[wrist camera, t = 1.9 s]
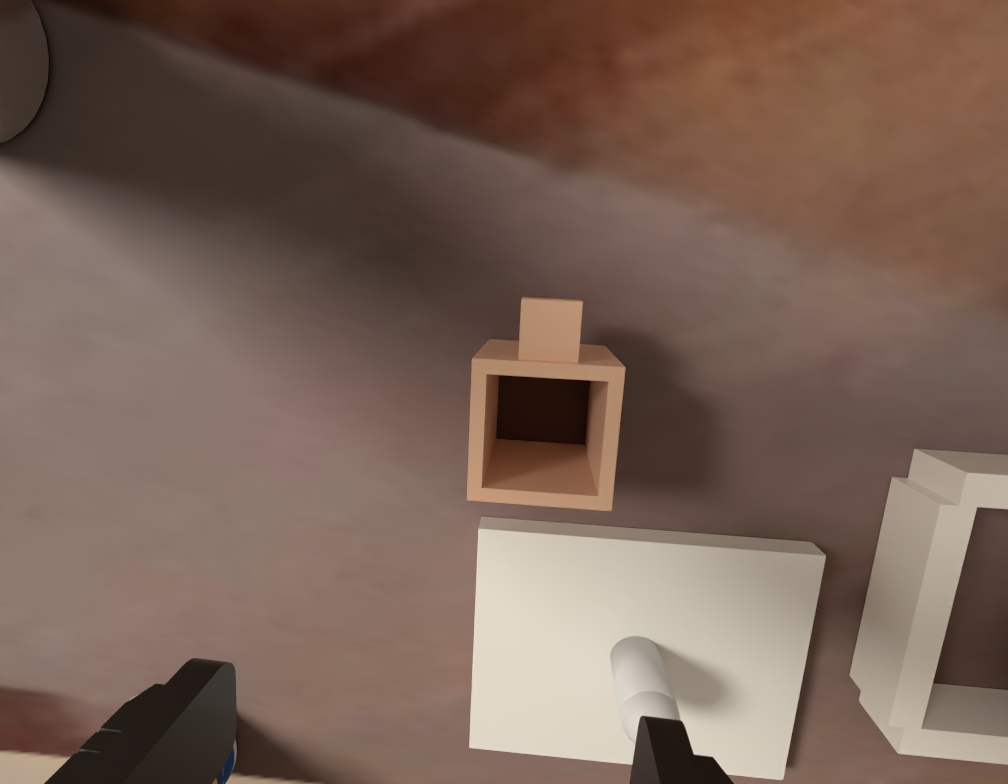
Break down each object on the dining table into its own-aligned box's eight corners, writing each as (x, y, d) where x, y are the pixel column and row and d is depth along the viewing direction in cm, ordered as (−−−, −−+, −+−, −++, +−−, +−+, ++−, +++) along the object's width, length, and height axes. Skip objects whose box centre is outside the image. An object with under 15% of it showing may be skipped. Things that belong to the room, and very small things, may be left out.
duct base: (481, 516, 30) (463, 585, 23) (811, 542, 29) (893, 621, 22) (472, 726, 33) (454, 842, 26) (771, 757, 32) (833, 885, 25)
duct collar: (484, 448, 29) (466, 500, 22) (491, 292, 27) (474, 296, 21) (595, 456, 29) (611, 511, 22) (609, 298, 27) (631, 304, 20)
